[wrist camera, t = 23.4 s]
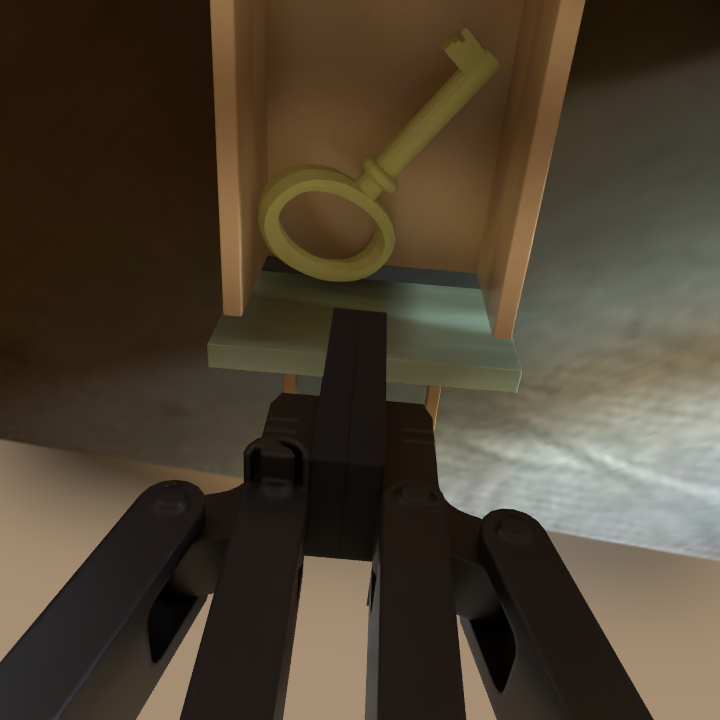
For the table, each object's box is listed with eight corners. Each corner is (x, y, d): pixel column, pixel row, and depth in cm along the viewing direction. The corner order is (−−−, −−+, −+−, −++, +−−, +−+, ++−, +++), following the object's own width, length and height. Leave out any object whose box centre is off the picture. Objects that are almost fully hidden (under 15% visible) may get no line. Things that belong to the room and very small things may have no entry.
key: (486, 33, 28) (516, 51, 26) (360, 278, 34) (380, 303, 32) (346, -39, 23) (374, -21, 22) (230, 258, 29) (247, 286, 28)
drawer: (474, 412, 39) (490, 507, 32) (245, 393, 39) (215, 484, 32) (579, -116, 26) (643, -139, 19) (232, -144, 26) (175, -178, 19)
